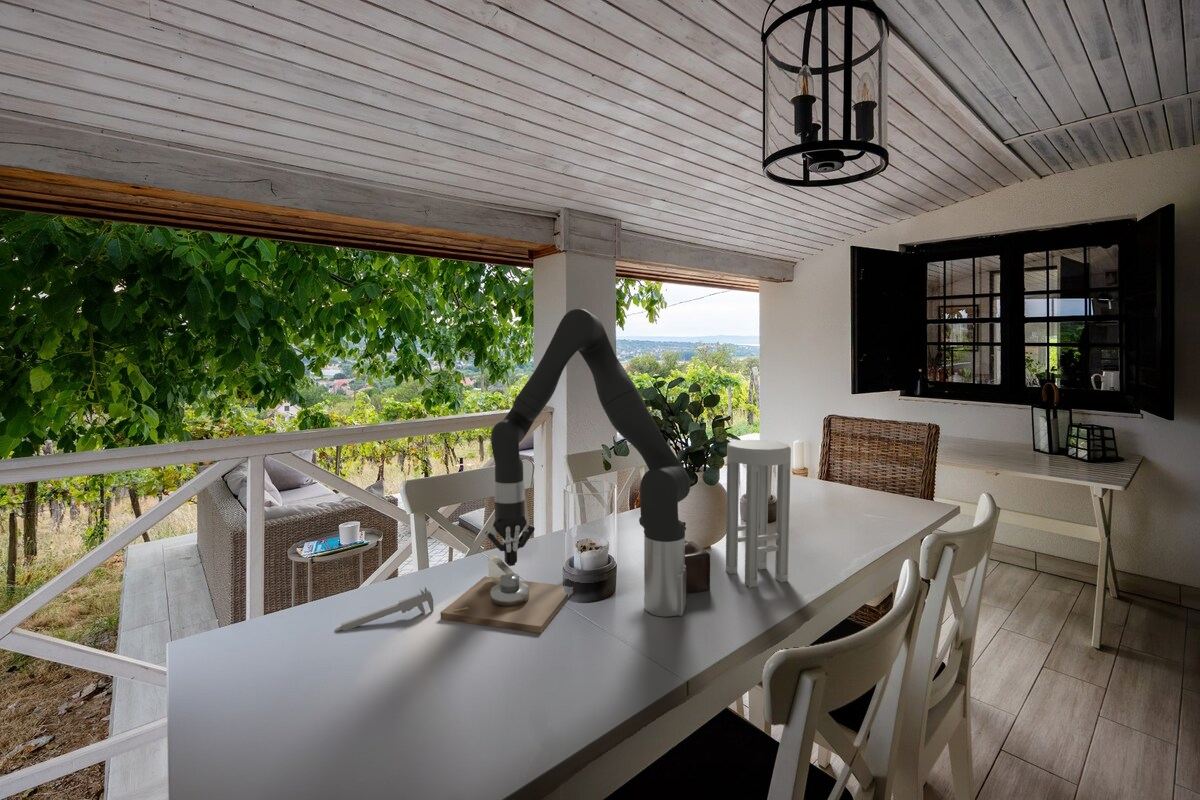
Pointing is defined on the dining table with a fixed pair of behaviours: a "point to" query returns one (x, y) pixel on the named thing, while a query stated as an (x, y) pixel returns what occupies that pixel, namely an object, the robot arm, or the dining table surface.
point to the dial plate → (508, 607)
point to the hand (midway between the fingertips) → (510, 564)
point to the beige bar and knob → (506, 584)
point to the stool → (758, 507)
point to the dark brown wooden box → (695, 567)
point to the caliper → (392, 610)
